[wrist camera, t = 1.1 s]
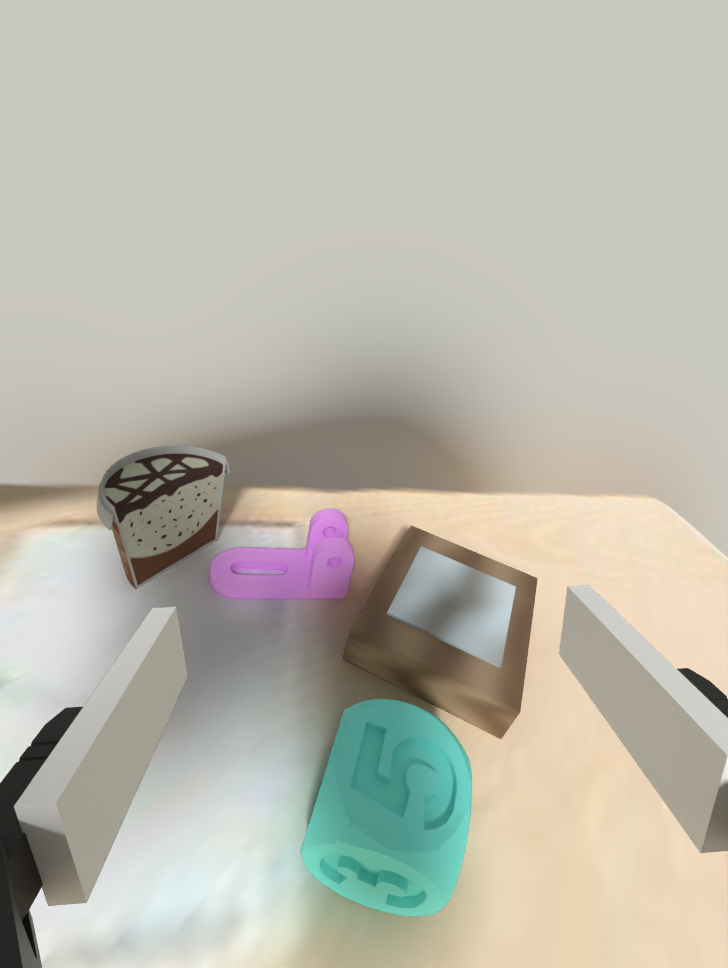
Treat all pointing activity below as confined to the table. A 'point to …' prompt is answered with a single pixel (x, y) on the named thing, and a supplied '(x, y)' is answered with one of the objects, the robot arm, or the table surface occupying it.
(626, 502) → the table surface
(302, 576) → the bracket
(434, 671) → the plinth
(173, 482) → the food container
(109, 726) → the robot arm
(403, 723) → the decorative dice
